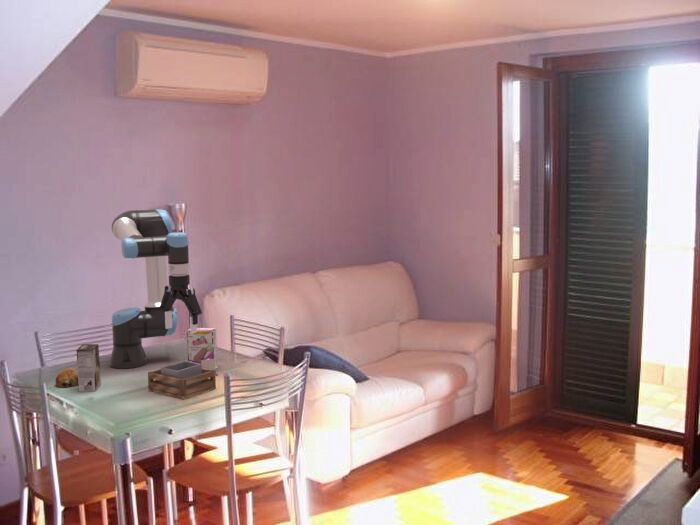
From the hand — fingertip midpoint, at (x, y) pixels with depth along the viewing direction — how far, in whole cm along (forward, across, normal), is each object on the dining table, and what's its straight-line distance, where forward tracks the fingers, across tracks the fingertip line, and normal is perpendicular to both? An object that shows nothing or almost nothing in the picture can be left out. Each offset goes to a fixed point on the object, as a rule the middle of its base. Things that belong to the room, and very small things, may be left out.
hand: (181, 330), depth 293 cm
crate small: (+21, +2, -2) cm, 21 cm away
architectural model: (+23, -3, +16) cm, 28 cm away
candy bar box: (+22, -14, +23) cm, 35 cm away
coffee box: (+22, -29, -21) cm, 42 cm away
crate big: (+22, +2, -2) cm, 22 cm away
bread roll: (+23, -40, -22) cm, 51 cm away
